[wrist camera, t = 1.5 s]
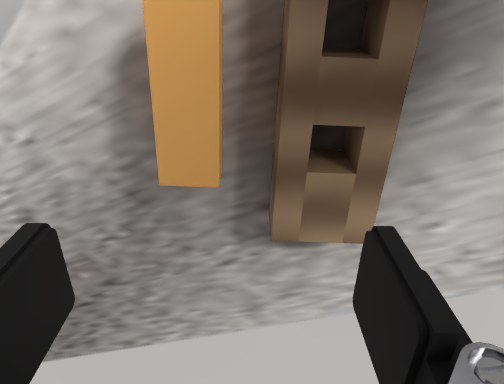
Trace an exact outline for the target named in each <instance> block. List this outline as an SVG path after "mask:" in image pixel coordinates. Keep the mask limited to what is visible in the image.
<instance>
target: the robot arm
mask: <svg viewBox="0 0 504 384" xmlns="http://www.w3.org/2000/svg"><path fill="white" fill-rule="evenodd" d="M74 301H75V296H74V292H73V288H72V285H71V281H70V278H69V274H68V271H67V267H66V264H65V260H64V257H63V253H62V250H61V246H60V242H59V239H58V235H57V232H56V230H55V229H54V228H51V227H50V226H49V224H47V223H26V224H24V225H23V226H22V227H21V228H20V229H19V230H18V231H17V232H16V233H15V234H14V235H13V236H12V237H11V238H10V239H9V240H8V241H7V242H6V243H5V244H4V245H3V246H2V247H1V248H0V384H29V383H30V381H31V380H32V378H33V376H34V375H35V373H36V371H37V369H38V368H39V366H40V364H41V362H42V361H43V359H44V357H45V355H46V354H47V352H48V350H49V348H50V347H51V345H52V343H53V341H54V339H55V338H56V336H57V334H58V332H59V331H60V329H61V327H62V325H63V324H64V322H65V320H66V318H67V317H68V315H69V313H70V311H71V310H72V308H73V305H74ZM353 307H354V311H355V314H356V316H357V319H358V322H359V325H360V328H361V331H362V334H363V337H364V340H365V343H366V346H367V349H368V352H369V355H370V357H371V361H372V364H373V367H374V370H375V372H376V375H377V378H378V381H379V384H504V349H503V348H500V347H498V346H495V345H492V344H487V343H482V342H477V343H473V342H472V341H471V339H470V338H469V336H468V335H467V333H466V331H465V330H464V328H463V327H462V325H461V324H460V322H459V321H458V319H457V318H456V316H455V315H454V313H453V312H452V310H451V308H450V307H449V305H448V304H447V302H446V301H445V299H444V298H443V296H442V295H441V293H440V291H439V290H438V288H437V287H436V285H435V284H434V282H433V281H432V279H431V278H430V276H429V275H428V274H427V272H426V271H424V270H421V268H420V267H419V265H418V264H417V262H416V261H415V259H414V257H413V256H412V254H411V253H410V251H409V250H408V248H407V246H406V245H405V243H404V242H403V240H402V239H401V237H400V235H399V234H398V232H397V231H396V229H395V228H394V227H393V226H373V227H372V229H371V231H366V233H365V237H364V243H363V248H362V253H361V258H360V263H359V268H358V274H357V279H356V284H355V289H354V294H353Z"/></svg>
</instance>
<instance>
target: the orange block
mask: <svg viewBox="0 0 504 384" xmlns="http://www.w3.org/2000/svg"><path fill="white" fill-rule="evenodd" d="M143 11H144V22H145V34H146V45H147V56H148V67H149V78H150V89H151V100H152V111H153V122H154V133H155V144H156V155H157V166H158V178H159V185H164V186H191V187H218V188H219V186H220V180H221V174H222V149H223V0H143Z"/></svg>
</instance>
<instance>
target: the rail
mask: <svg viewBox="0 0 504 384" xmlns="http://www.w3.org/2000/svg"><path fill="white" fill-rule="evenodd" d="M427 2H428V0H368V6H367V11H366V17H365V23H364V29H363V35H362V41H361V47H360V49H337V48H323V40H324V32H325V24H326V16H327V8H328V0H285V3H284V16H283V30H282V43H281V57H280V70H279V84H278V97H277V111H276V124H275V138H274V151H273V164H272V178H271V191H270V205H269V218H270V231H271V241H300V242H330V243H359V244H363V243H364V237H365V233H366V231H371V229H372V227H373V226H374V223H375V218H376V214H377V210H378V206H379V202H380V198H381V193H382V189H383V185H384V181H385V177H386V173H387V168H388V164H389V160H390V156H391V152H392V148H393V143H394V139H395V135H396V131H397V127H398V123H399V118H400V114H401V110H402V106H403V102H404V98H405V93H406V89H407V85H408V81H409V77H410V73H411V68H412V64H413V60H414V56H415V52H416V48H417V43H418V39H419V35H420V31H421V27H422V23H423V18H424V14H425V10H426V6H427ZM313 125H334V126H347V128H346V134H345V140H344V146H343V151H333V150H310V144H311V136H312V128H313Z"/></svg>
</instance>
